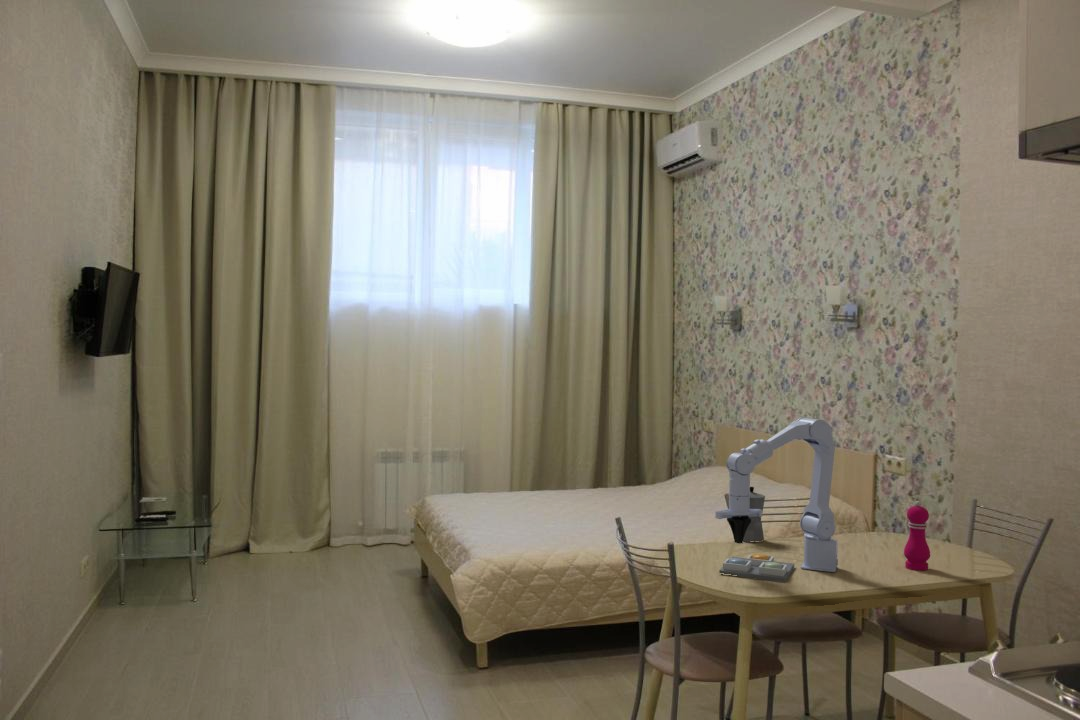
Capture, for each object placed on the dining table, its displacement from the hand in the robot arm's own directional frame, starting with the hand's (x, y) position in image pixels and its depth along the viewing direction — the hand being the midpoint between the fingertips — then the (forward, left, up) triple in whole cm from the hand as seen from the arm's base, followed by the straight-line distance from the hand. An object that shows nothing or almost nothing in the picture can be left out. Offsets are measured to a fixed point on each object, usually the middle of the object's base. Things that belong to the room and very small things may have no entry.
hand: (738, 542), depth 249 cm
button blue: (0, +1, -7) cm, 7 cm away
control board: (-5, -4, -8) cm, 10 cm away
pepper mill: (-47, -30, -9) cm, 57 cm away
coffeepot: (+5, -46, -9) cm, 48 cm away
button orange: (-5, -8, -7) cm, 12 cm away
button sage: (-10, +1, -7) cm, 12 cm away
